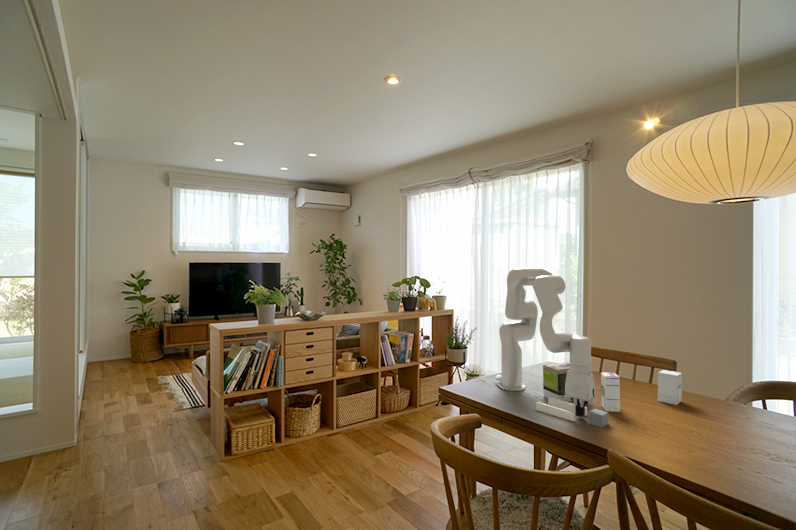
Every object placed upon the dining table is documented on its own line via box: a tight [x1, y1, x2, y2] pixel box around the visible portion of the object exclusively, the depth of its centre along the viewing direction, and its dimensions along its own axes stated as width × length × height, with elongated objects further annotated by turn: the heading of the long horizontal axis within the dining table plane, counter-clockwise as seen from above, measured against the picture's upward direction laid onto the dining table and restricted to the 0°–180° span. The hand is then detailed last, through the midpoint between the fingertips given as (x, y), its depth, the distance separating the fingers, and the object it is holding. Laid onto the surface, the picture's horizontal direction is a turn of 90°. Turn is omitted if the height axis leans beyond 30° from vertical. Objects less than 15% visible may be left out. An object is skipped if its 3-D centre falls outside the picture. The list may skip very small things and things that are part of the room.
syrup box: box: [600, 372, 621, 413], centre depth 165 cm, size 6×6×14 cm
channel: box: [535, 397, 588, 422], centre depth 162 cm, size 16×10×3 cm, turn 39°
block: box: [588, 408, 609, 428], centre depth 150 cm, size 5×5×4 cm
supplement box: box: [657, 369, 683, 406], centre depth 175 cm, size 7×7×13 cm
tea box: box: [542, 361, 573, 403], centre depth 179 cm, size 15×10×15 cm, turn 108°
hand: (580, 415), depth 156 cm, fingers closed
